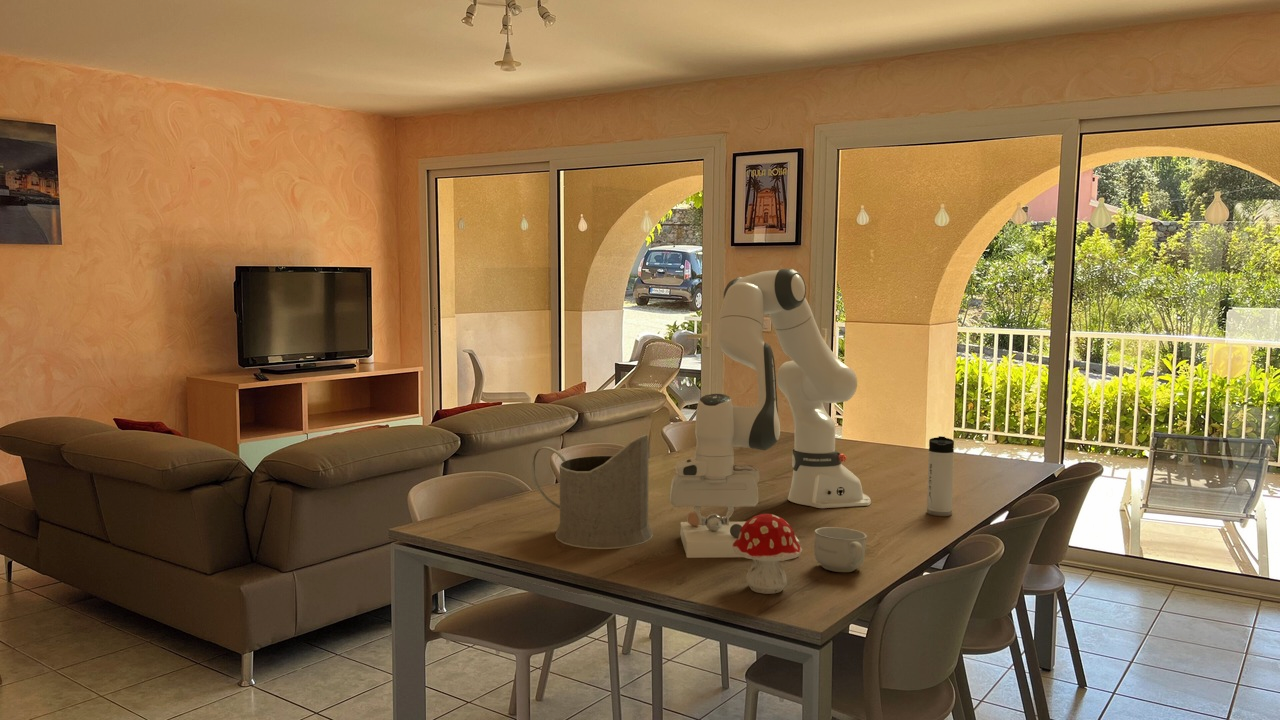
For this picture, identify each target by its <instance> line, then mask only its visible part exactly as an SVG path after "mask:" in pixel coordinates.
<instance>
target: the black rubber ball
mask: <svg viewBox="0 0 1280 720" xmlns="http://www.w3.org/2000/svg"><path fill="white" fill-rule="evenodd" d="M741 528H742V526H741V525H739V524H734V525H732V526H731V528H730V533H731V535H732V536H733V537H735V538H738V536H739V533H740V530H741Z"/></svg>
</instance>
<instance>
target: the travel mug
mask: <svg viewBox="0 0 1280 720" xmlns="http://www.w3.org/2000/svg"><path fill="white" fill-rule="evenodd" d="M928 443H929V444H928V447H929V448H928V458H927V459H928V460H927V461H928V463H927V465H928V466H927V497H926V503H927V504H926V506H927V507H926V513H927V514H928V515H931V516H935V517H949V516H951V515H952V514H953V494H954V492H953V491H954V488H953V487H954V460H955V459H954V458H955V457H954V453H955V450H954V448H955V441H954V439H951V438H949V437H946V436H939V435H938V436H937V437H931V438H930V439H929V441H928Z"/></svg>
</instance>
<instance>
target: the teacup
mask: <svg viewBox="0 0 1280 720" xmlns="http://www.w3.org/2000/svg"><path fill="white" fill-rule="evenodd" d="M867 538H868V537H867V534H866V533H865V532H862V531H860V530H857V529H851V528H847V527H839V526H838V527H835V526H824V527H819V528H816V529H815V530H814V545H813V546H814V549H813V551H814V556H815V560H816V562H817V563H818V564H820V565H821V567H822V568H824V569H825V570H826V571H827V570H828V571H832V572H834V573H835V572H836V573H851V572H854V571H855V570H856V569H858V568H859V567H861V566H862V564H863V563H864V561H865V555H866V542H867Z"/></svg>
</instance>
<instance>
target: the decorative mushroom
mask: <svg viewBox="0 0 1280 720" xmlns="http://www.w3.org/2000/svg"><path fill="white" fill-rule="evenodd" d="M745 522H746V523H745V524H744V525H743V526H742V528H741V530H740V533H739V536H738V538H737V540H736V541H735V542H734V543H733V545H732V547H733V550H734V552H735V553H736V554H737V555H740V556H742V557H741V558H745V559H749V560H752V563H751V566H750V568H749V569H748V571H747V574H746V577H745V580H746V583H747V585H748V587H749V588H750V589H751V591H753V592H755V593H757V594H763V595H768V594H770V595H775V594H777V593H781V592H782V591H783V590H784V589H785V587H786V586H787V583H788V578H787V575H786V573H785V570H784V569H783V566H782V563H781V561H782V562H783V561H787V560H791V559H796V558H798V557H797V556H799V557H800V555H801V554H802V552H803V548H802V547H801V545H800V543H799V544H798V542H797V541H796V537H797V536H796V535H795V531H794V530H793V528H792V527H791V525H790V524H789V523H788V522H787V521H786V520H785V519H784V518H782V517H780V516H777V515H775V514H772V513H762V514H759V515H758V514H757V515H755V516H753V517H751V518H750V519H749V520H747V521H745ZM795 536H796V537H795Z"/></svg>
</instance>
